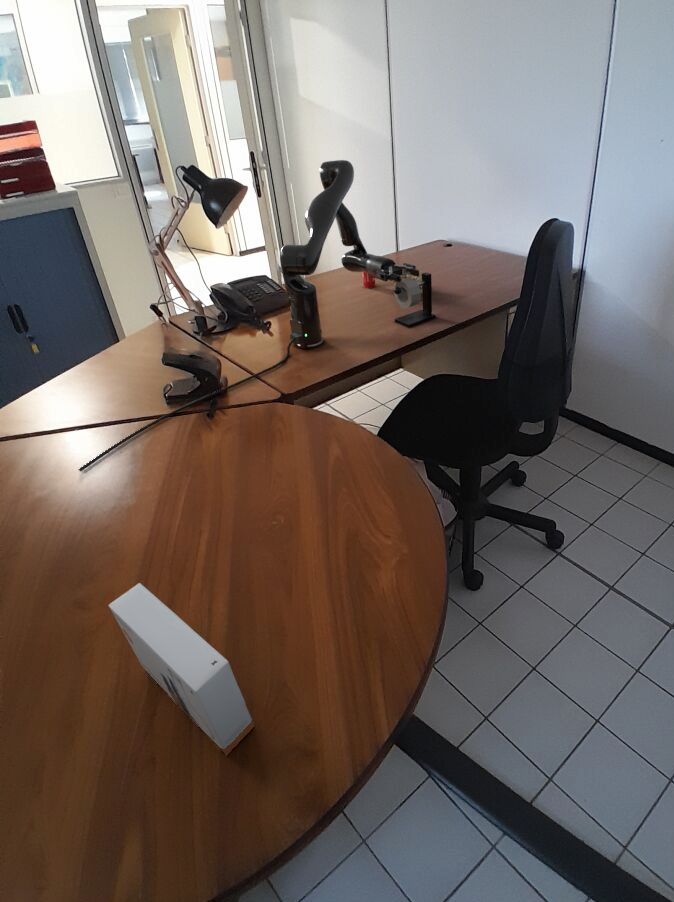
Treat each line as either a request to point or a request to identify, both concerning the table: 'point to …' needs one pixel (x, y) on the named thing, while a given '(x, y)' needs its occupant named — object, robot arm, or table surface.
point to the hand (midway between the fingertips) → (409, 276)
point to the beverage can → (368, 280)
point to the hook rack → (423, 314)
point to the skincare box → (183, 664)
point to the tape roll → (408, 293)
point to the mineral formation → (412, 278)
